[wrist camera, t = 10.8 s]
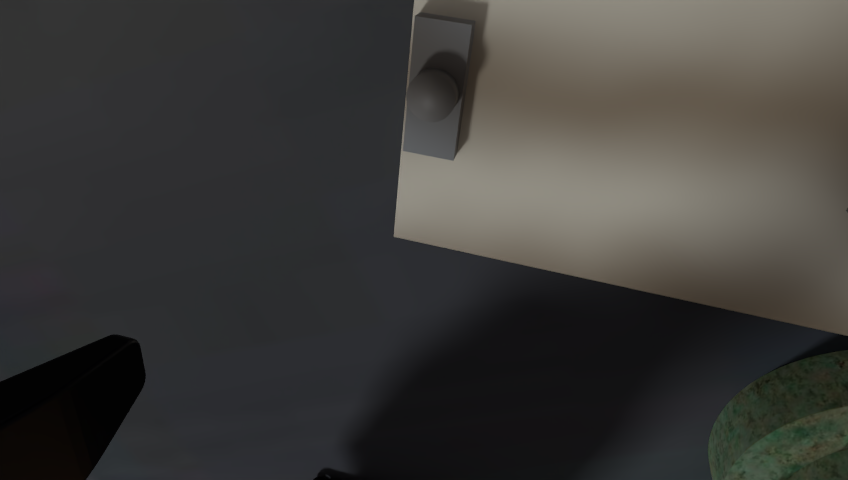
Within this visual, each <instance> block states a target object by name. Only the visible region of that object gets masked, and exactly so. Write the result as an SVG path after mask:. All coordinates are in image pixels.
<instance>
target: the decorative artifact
mask: <svg viewBox="0 0 848 480" xmlns="http://www.w3.org/2000/svg"><path fill="white" fill-rule="evenodd" d="M708 457H709V464H710V469H711V475H712V480H848V350H845V351H837V352H831V353H826V354H821V355H817V356H813V357H809V358H805V359H802V360H799V361H796V362H793V363H790V364H787V365H785V366H783V367H780V368H778V369H775V370H773V371H771V372H770V373H768V374H766V375H764V376H762V377H760V378H759V379H757V380H755V381H754V382H752V383H751V384H749V385H748V386H747V387H745V388H744V389H743V390H741V391H740V392H739V393H738V394H737V395H736V396H735V397H734V398H732V399H731V401H730V402H729V403H728V404H727V405H726V406H725V407H724V409H723V410H722V412H721V413H720V415H719V416H718V418H717V420H716V422H715V423H714V425H713V428H712V431H711V434H710V438H709V443H708Z"/></svg>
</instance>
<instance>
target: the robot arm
mask: <svg viewBox="0 0 848 480" xmlns="http://www.w3.org/2000/svg"><path fill="white" fill-rule="evenodd" d="M145 377H146V374H145V368H144V363H143V358H142V353H141V348H140V344H139V343H138V341H137V340H135V339H133V338H129V337H125V336H121V335H110V336H107V337H105V338H102V339H100V340H98V341H95V342H93V343H90V344H88V345H86V346H83V347H81V348H79V349H76V350H74V351H72V352H69V353H67V354H65V355H62V356H60V357H57V358H55V359H53V360H50V361H48V362H46V363H43V364H41V365H39V366H36V367H34V368H32V369H29V370H27V371H24V372H22V373H20V374H17V375H15V376H13V377H10V378H8V379H6V380H3V381H1V382H0V480H86V479H87V477H88V476H89V474H90V473H91V472H92V470H93V469H94V467H95V466H96V464H97V463H98V461H99V459H100V458H101V456H102V455H103V453H104V451H105V450H106V448H107V447H108V445H109V443H110V442H111V440H112V438H113V437H114V435H115V433H116V432H117V430H118V428H119V427H120V425H121V423H122V422H123V420H124V418H125V417H126V415H127V413H128V412H129V410H130V408H131V407H132V405H133V404H134V402H135V400H136V399H137V397H138V395H139V394H140V392H141V390H142V388H143V386H144V383H145ZM314 480H329V479H326V478H322V477H316V478H315V479H314Z"/></svg>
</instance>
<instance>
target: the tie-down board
mask: <svg viewBox="0 0 848 480" xmlns="http://www.w3.org/2000/svg"><path fill="white" fill-rule="evenodd" d="M847 208H848V0H414V10H413V21H412V33H411V44H410V56H409V67H408V79H407V90H406V102H405V113H404V124H403V136H402V147H401V159H400V170H399V182H398V193H397V205H396V216H395V227H394V237H398V238H402V239H407V240H411V241H416V242H421V243H425V244H430V245H434V246H439V247H443V248H448V249H453V250H457V251H462V252H466V253H471V254H475V255H480V256H485V257H489V258H494V259H498V260H503V261H508V262H512V263H517V264H521V265H526V266H530V267H535V268H540V269H544V270H549V271H553V272H558V273H562V274H567V275H572V276H576V277H581V278H585V279H590V280H594V281H599V282H604V283H608V284H613V285H617V286H622V287H626V288H631V289H636V290H640V291H645V292H649V293H654V294H658V295H663V296H668V297H672V298H677V299H681V300H686V301H690V302H695V303H700V304H704V305H709V306H713V307H718V308H723V309H727V310H732V311H736V312H741V313H745V314H750V315H755V316H759V317H764V318H768V319H773V320H777V321H782V322H787V323H791V324H796V325H800V326H805V327H809V328H814V329H819V330H823V331H828V332H832V333H837V334H841V335H846V336H848V213H847V211H846V210H847Z"/></svg>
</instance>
